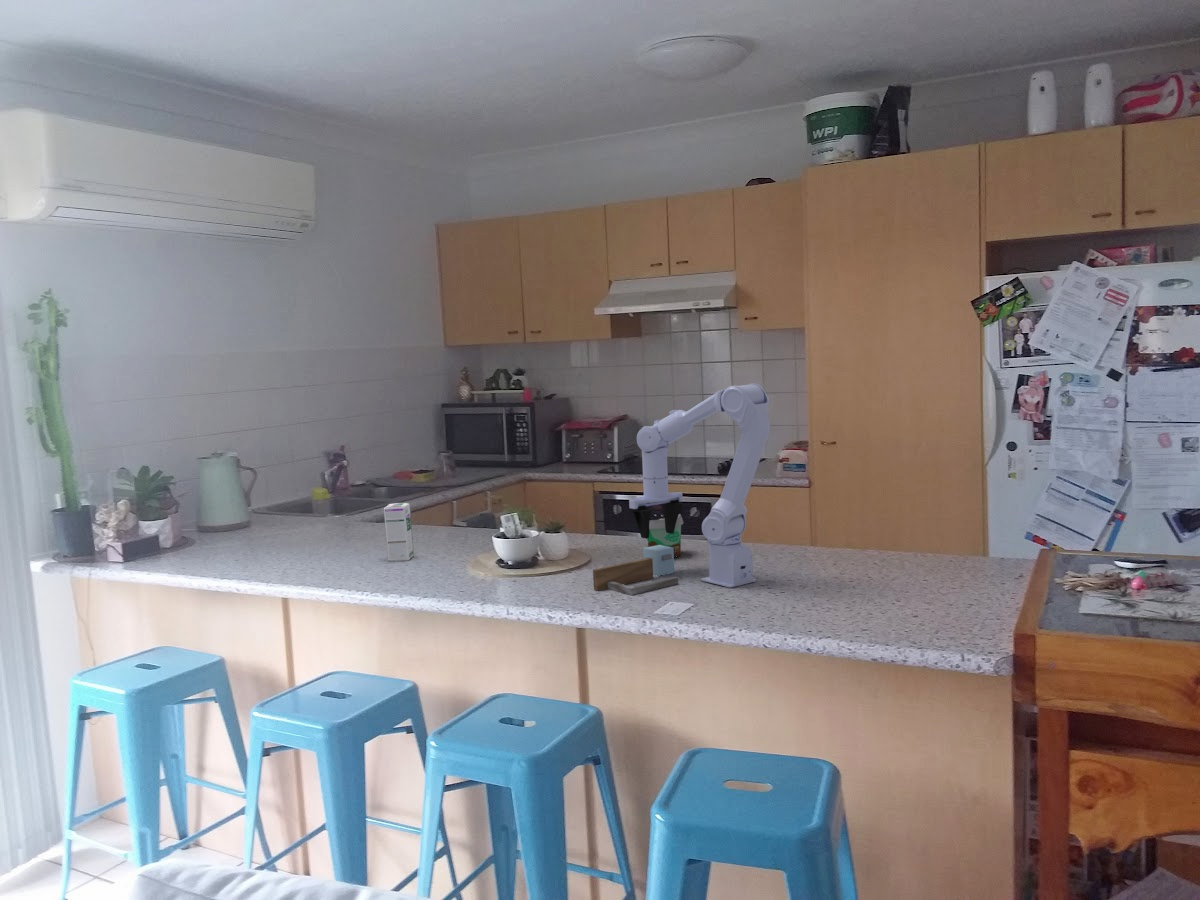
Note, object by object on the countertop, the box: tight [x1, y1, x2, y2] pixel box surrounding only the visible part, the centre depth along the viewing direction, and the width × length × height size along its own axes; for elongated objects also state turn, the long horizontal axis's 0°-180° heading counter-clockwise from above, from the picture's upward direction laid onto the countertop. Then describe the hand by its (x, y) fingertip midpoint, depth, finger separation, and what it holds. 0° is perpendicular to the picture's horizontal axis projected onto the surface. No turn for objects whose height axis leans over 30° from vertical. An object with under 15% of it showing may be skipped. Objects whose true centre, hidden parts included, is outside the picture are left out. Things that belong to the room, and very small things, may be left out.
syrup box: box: [383, 502, 415, 562], centre depth 250 cm, size 6×6×14 cm
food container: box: [646, 513, 684, 558], centre depth 238 cm, size 12×6×10 cm, turn 140°
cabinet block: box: [642, 545, 675, 577], centre depth 221 cm, size 6×5×6 cm
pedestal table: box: [592, 558, 679, 596], centre depth 209 cm, size 10×16×4 cm, turn 127°
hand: (657, 535), depth 221 cm, fingers open, 7 cm apart
